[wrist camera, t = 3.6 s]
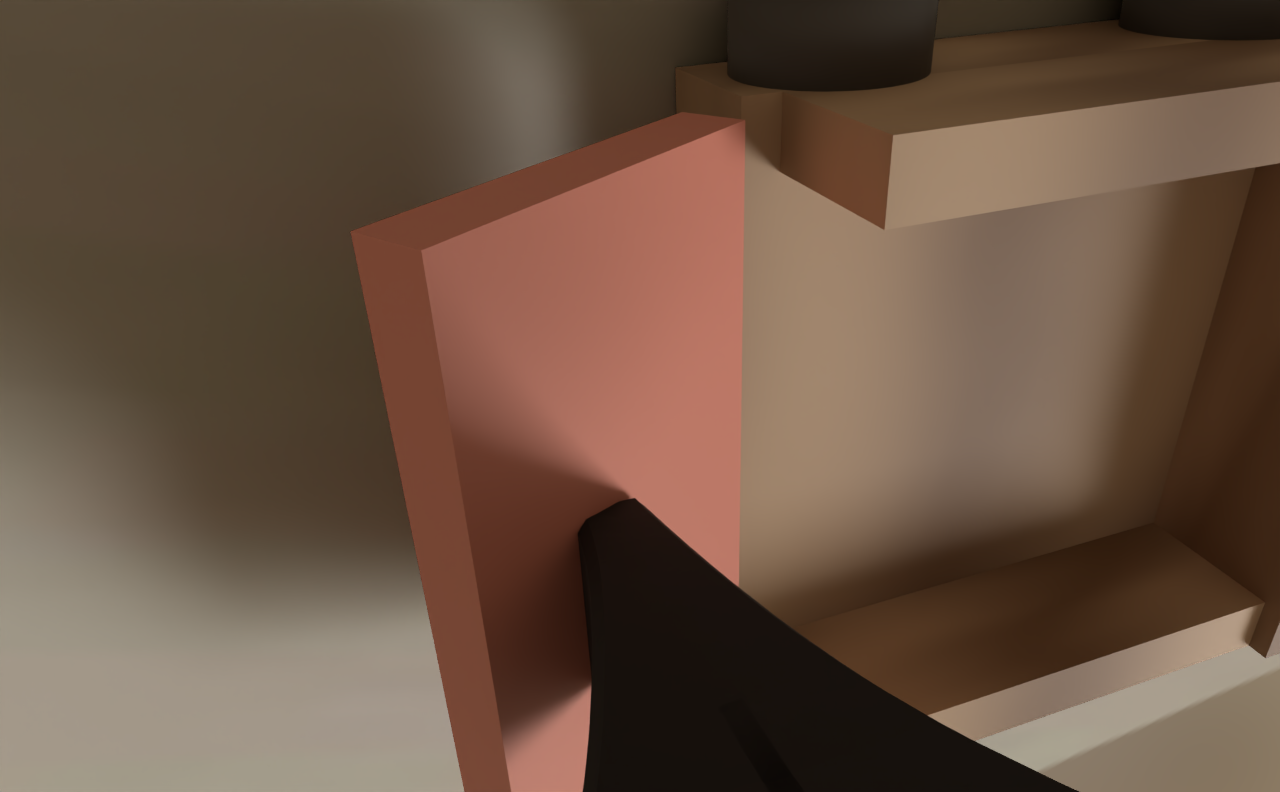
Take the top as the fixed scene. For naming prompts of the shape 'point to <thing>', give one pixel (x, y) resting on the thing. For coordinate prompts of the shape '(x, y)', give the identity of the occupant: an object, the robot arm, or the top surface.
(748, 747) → the robot arm
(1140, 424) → the box
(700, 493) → the panel
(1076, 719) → the top surface
